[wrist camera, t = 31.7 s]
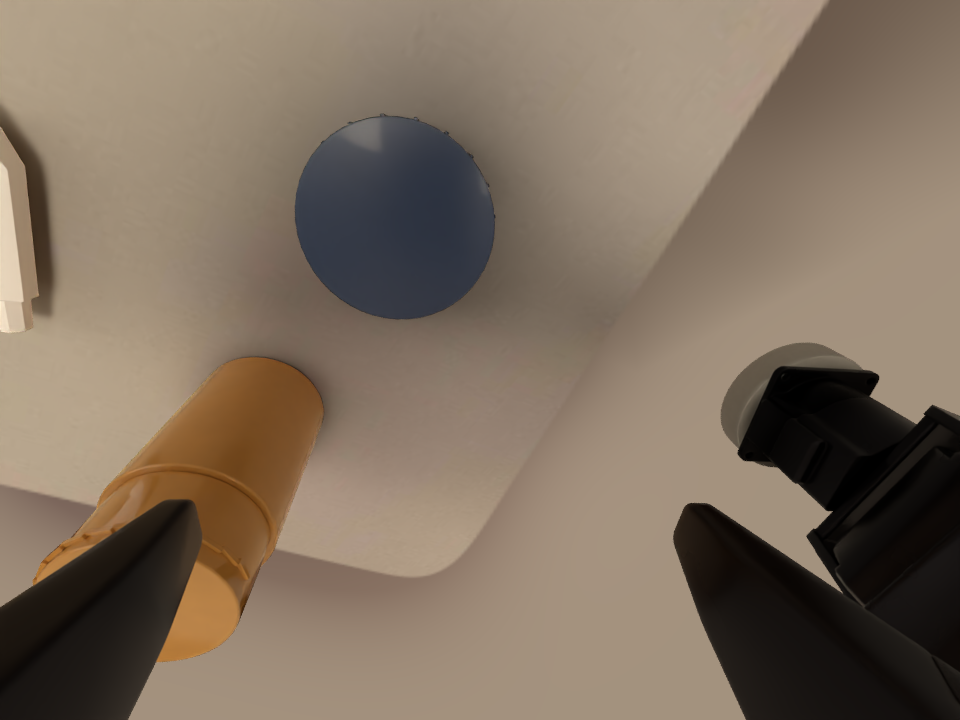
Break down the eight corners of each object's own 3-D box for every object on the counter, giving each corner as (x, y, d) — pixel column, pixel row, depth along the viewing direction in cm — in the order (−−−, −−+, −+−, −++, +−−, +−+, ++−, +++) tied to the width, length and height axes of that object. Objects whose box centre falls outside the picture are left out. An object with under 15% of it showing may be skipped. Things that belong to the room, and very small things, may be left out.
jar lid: (306, 108, 15) (281, 102, 13) (495, 127, 16) (506, 125, 13) (320, 291, 18) (302, 316, 15) (479, 299, 19) (486, 324, 16)
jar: (321, 359, 19) (233, 537, 11) (326, 454, 22) (258, 663, 13) (192, 353, 19) (-11, 538, 10) (212, 452, 21) (60, 671, 12)
